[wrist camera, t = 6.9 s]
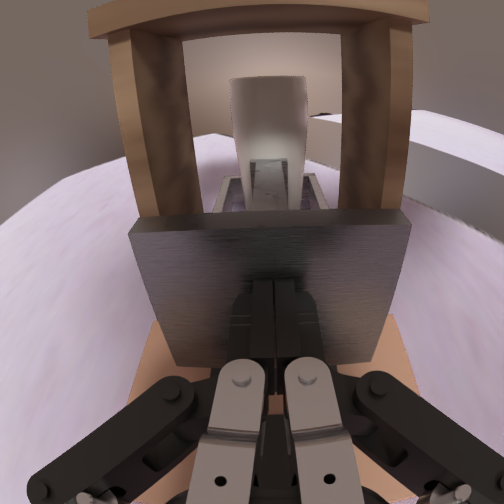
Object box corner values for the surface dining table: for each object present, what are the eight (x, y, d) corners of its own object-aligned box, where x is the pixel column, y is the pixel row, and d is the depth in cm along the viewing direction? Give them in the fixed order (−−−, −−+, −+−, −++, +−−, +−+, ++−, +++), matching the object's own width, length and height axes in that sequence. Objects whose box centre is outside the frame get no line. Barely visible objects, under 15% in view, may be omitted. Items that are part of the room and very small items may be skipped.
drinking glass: (242, 249, 28) (229, 78, 20) (238, 217, 34) (227, 79, 26) (314, 242, 28) (316, 76, 21) (298, 212, 34) (296, 77, 26)
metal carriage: (227, 199, 37) (218, 114, 31) (314, 196, 37) (314, 110, 31) (182, 390, 16) (120, 234, 10) (365, 386, 16) (418, 224, 10)
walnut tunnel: (192, 243, 30) (161, 27, 19) (350, 238, 29) (358, 18, 17) (163, 332, 21) (87, 10, 9) (384, 327, 20) (427, -7, 8)
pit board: (159, 334, 21) (153, 319, 20) (387, 329, 19) (393, 312, 19) (117, 496, 11) (103, 490, 10) (428, 492, 10) (442, 485, 9)
